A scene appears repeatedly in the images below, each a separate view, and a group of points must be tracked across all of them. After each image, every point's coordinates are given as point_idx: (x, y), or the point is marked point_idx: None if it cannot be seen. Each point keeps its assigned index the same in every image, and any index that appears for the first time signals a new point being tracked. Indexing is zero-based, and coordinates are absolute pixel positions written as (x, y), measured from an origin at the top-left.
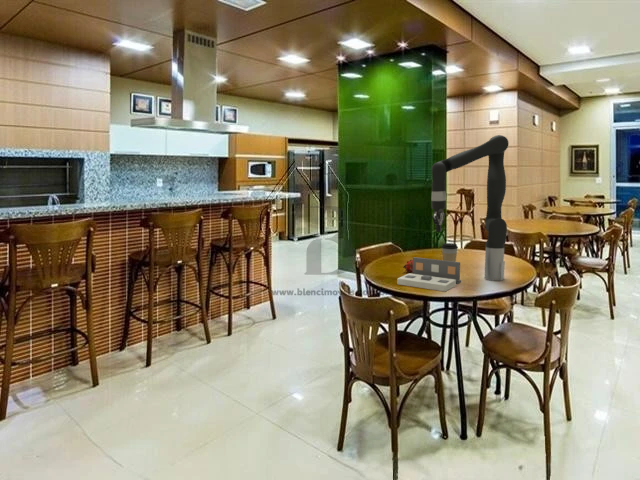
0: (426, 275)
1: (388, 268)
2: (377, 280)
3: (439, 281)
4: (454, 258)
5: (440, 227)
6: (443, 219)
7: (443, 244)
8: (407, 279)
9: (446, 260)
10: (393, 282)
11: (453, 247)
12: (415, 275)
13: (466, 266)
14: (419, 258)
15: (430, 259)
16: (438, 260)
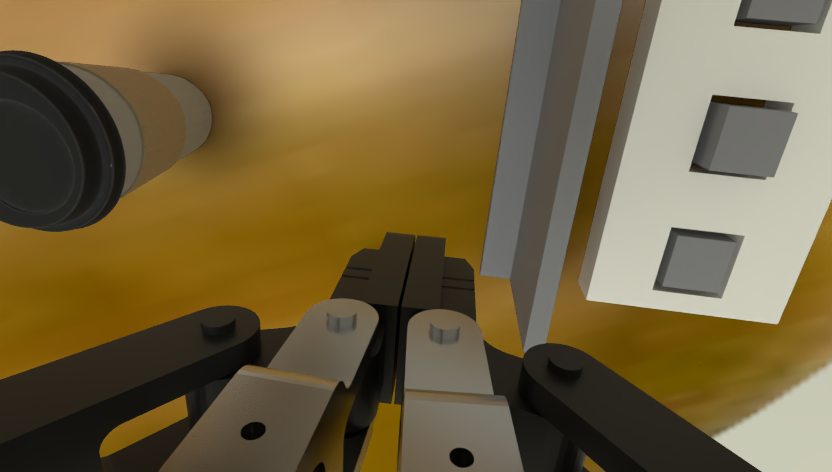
0: (723, 150)
1: (368, 448)
2: (690, 423)
3: (817, 10)
4: (126, 72)
5: (415, 274)
6: (70, 367)
7: (62, 213)
8: (789, 257)
9: (178, 136)
10: (713, 335)
11: (66, 87)
12: (642, 242)
13: (4, 14)
14: (554, 296)
15: (579, 192)
16: (598, 106)
